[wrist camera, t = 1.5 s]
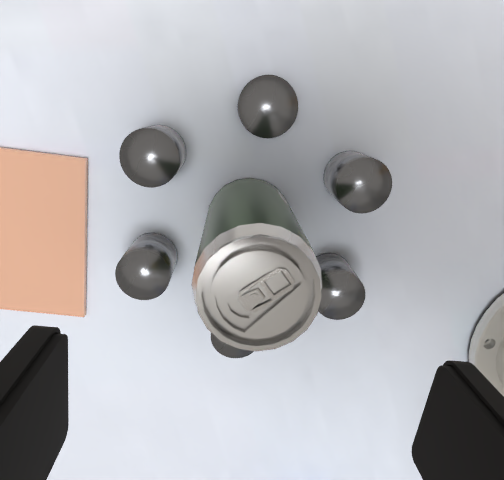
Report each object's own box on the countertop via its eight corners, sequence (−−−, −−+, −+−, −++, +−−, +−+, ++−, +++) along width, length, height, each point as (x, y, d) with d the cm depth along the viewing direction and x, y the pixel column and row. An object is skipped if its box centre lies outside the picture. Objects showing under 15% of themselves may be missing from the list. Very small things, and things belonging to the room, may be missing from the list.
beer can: (260, 159, 26) (279, 202, 15) (304, 226, 28) (352, 311, 16) (191, 206, 27) (160, 281, 16) (238, 268, 29) (240, 378, 17)
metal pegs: (390, 97, 25) (413, 96, 22) (335, 339, 31) (347, 368, 27) (138, 60, 24) (123, 52, 21) (126, 319, 29) (112, 346, 26)
